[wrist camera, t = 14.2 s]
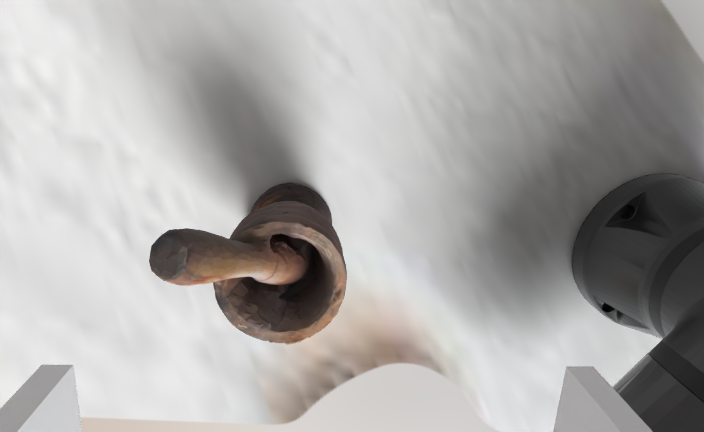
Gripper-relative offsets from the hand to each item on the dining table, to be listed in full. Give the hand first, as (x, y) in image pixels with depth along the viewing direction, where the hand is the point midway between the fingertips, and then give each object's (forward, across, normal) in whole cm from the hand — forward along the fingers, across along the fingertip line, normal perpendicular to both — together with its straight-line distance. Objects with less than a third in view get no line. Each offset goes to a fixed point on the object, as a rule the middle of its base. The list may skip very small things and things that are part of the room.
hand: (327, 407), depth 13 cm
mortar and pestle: (+31, +4, +4) cm, 31 cm away
